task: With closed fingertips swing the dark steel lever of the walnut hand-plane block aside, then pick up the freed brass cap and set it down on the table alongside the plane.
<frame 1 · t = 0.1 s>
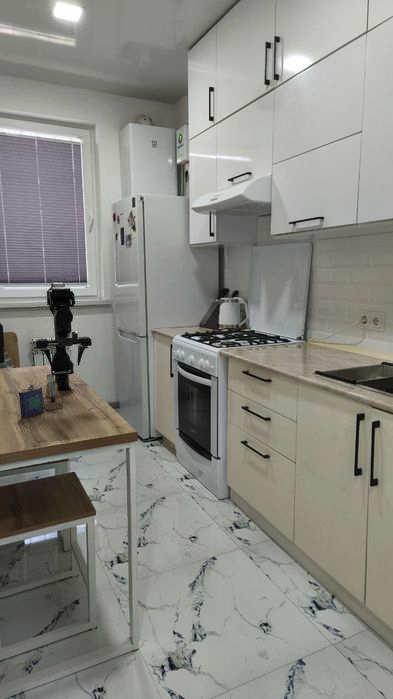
hand: (65, 366, 162), 15 cm above the table, tool pointing down, fingers open, 9 cm apart
flask: (32, 415, 154), on the table
lever: (51, 387, 168), point 6 cm above the table, hinge at 0.0°
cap: (51, 395, 172), point 2 cm above the table, touching plane body
plane body: (52, 402, 170), on the table
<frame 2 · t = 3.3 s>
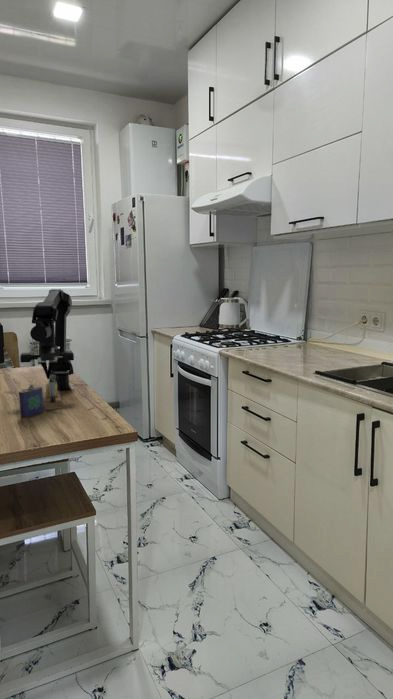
hand: (48, 379, 170), 8 cm above the table, tool pointing down, fingers closed
lever: (52, 387, 168), point 6 cm above the table, hinge at 3.4°, touching gripper
everything else where it was.
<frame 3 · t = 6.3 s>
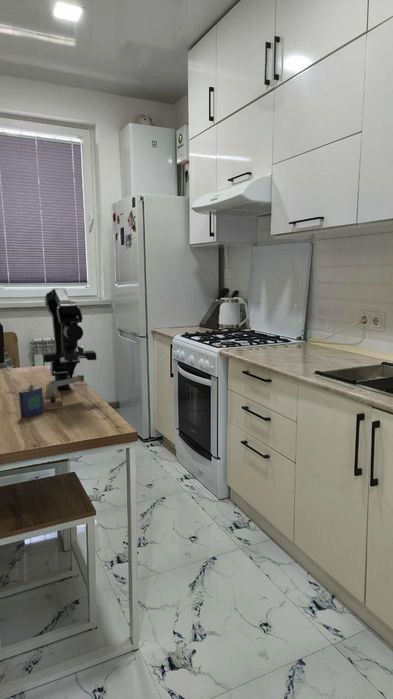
hand: (70, 379, 170), 8 cm above the table, tool pointing down, fingers closed
lever: (67, 387, 167), point 6 cm above the table, hinge at 57.6°, touching gripper
everything else where it was.
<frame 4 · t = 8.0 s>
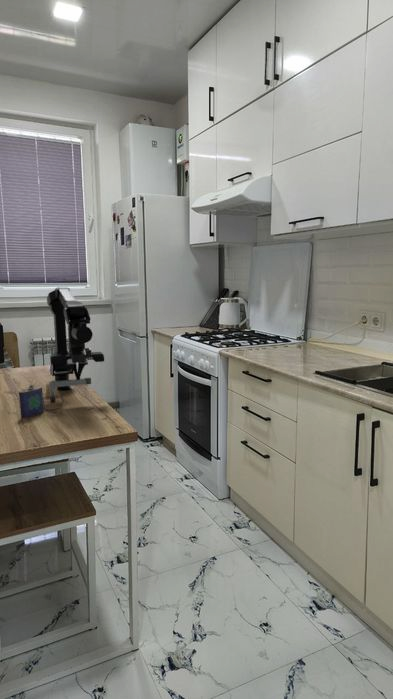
hand: (78, 380, 167), 8 cm above the table, tool pointing down, fingers closed, pressing on lever
lever: (71, 389, 164), point 6 cm above the table, hinge at 86.6°, touching gripper
everything else where it was.
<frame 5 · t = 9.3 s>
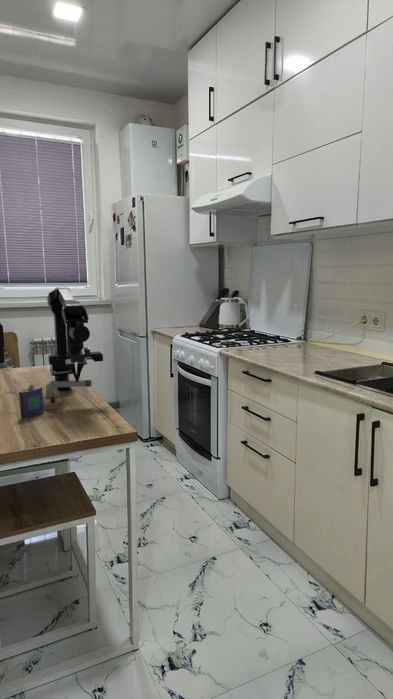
hand: (77, 381, 165), 9 cm above the table, tool pointing down, fingers closed
lever: (70, 390, 163), point 6 cm above the table, hinge at 103.9°
everything else where it was.
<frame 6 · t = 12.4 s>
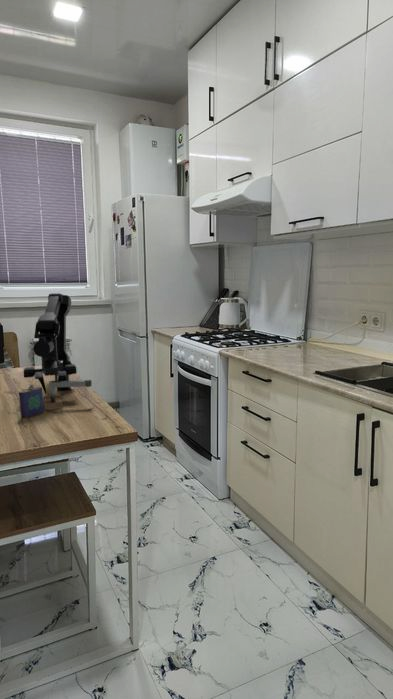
hand: (51, 392, 172), 3 cm above the table, tool pointing down, fingers closed on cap, 4 cm apart
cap: (51, 395, 172), point 2 cm above the table, touching gripper, plane body
everything else where it was.
when the fingers open (3 cm above the table, at t = 16.3 s): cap drops 2 cm, on the table.
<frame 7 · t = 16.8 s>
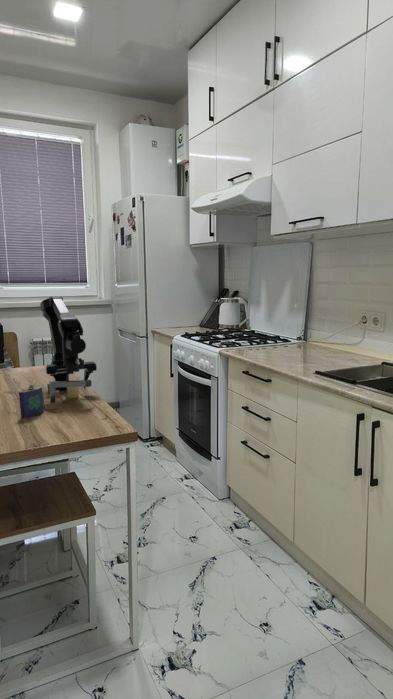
hand: (72, 389, 178), 3 cm above the table, tool pointing down, fingers open, 9 cm apart
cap: (72, 396, 178), on the table
everything else where it was.
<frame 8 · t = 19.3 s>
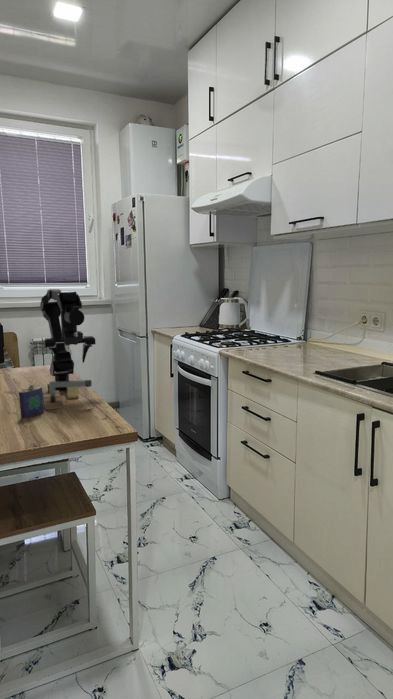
hand: (71, 363, 176), 13 cm above the table, tool pointing down, fingers open, 9 cm apart
nothing on the table moved.
at the end: lever at +104° (first picture: +0°); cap inside the target area (0.5 cm from its centre), on the table; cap touching table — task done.
